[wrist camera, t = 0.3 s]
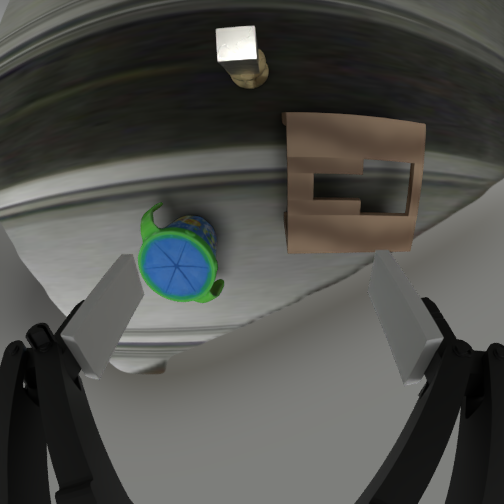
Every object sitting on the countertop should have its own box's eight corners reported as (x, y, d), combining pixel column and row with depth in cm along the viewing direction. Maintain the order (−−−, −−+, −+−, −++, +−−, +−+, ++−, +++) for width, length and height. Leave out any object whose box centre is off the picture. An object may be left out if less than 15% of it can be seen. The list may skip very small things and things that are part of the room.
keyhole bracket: (281, 112, 35) (286, 112, 26) (391, 119, 34) (425, 124, 25) (283, 221, 42) (287, 253, 33) (384, 221, 41) (410, 251, 32)
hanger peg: (230, 56, 31) (202, 20, 16) (267, 54, 31) (267, 15, 16) (231, 90, 34) (205, 74, 19) (269, 88, 33) (270, 69, 18)
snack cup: (141, 209, 42) (111, 236, 33) (195, 177, 40) (174, 198, 31) (192, 285, 49) (177, 324, 40) (246, 262, 46) (240, 301, 37)
